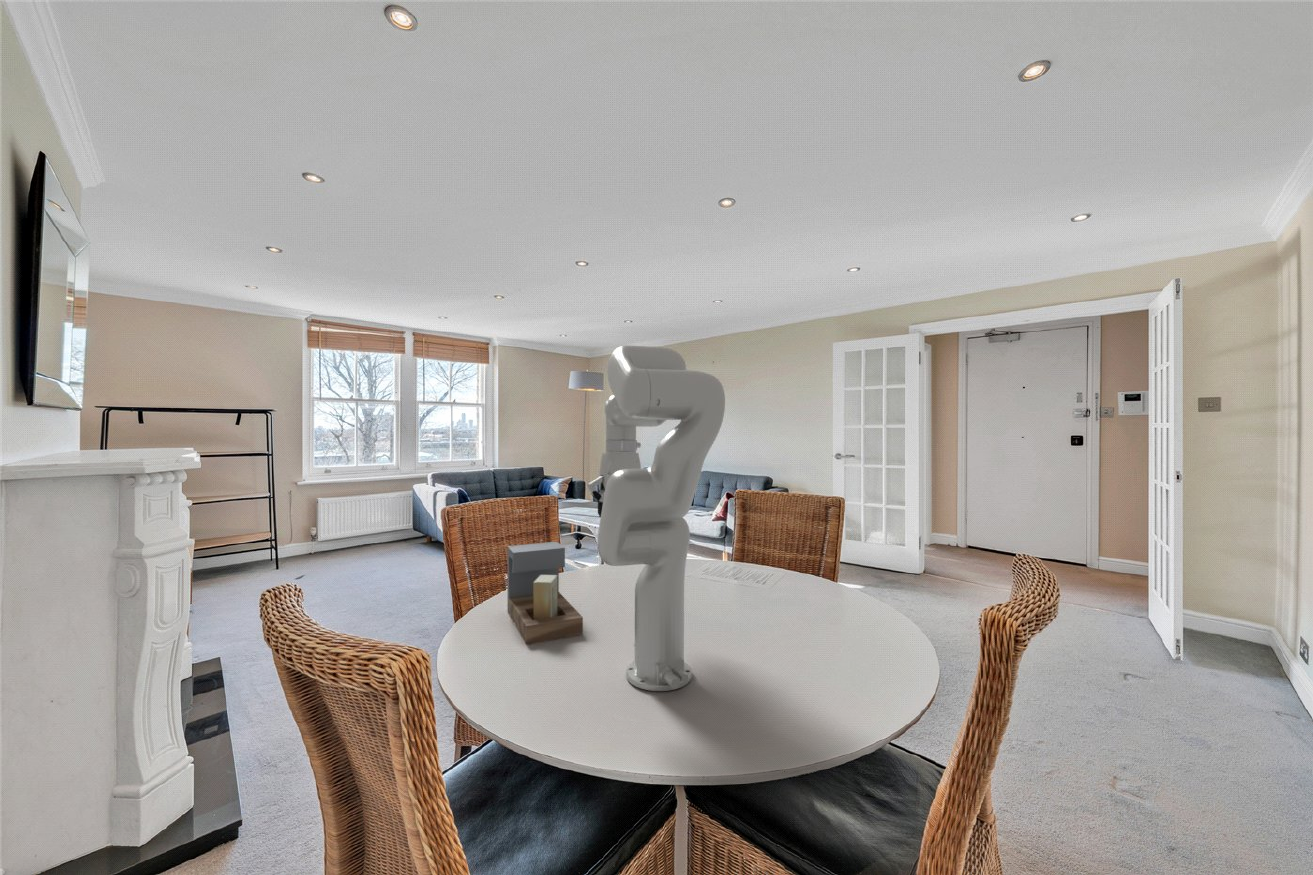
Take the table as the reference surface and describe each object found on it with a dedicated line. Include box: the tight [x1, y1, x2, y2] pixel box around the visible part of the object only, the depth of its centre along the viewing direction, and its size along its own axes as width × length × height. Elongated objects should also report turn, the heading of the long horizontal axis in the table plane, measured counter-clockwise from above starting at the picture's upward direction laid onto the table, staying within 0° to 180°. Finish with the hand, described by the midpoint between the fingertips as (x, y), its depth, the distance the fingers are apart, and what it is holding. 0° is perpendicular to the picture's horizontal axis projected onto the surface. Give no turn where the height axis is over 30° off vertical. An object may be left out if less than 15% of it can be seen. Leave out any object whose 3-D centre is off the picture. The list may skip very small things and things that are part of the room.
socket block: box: [508, 591, 584, 645], centre depth 129 cm, size 21×13×4 cm, turn 26°
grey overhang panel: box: [506, 541, 566, 614], centre depth 136 cm, size 8×13×17 cm, turn 116°
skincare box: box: [533, 575, 557, 620], centre depth 125 cm, size 6×4×12 cm
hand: (620, 516), depth 131 cm, fingers open, 9 cm apart
